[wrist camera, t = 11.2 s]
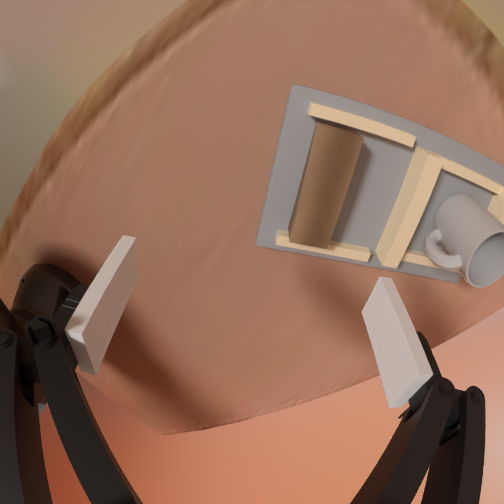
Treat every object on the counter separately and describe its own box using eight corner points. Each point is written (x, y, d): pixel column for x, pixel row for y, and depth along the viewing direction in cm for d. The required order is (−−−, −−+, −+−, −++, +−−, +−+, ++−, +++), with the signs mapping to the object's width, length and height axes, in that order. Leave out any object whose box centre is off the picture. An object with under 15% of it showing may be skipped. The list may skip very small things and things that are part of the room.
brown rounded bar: (287, 227, 34) (289, 242, 31) (316, 120, 27) (321, 126, 24) (322, 234, 34) (326, 249, 31) (355, 131, 27) (364, 138, 25)
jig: (255, 239, 36) (254, 260, 32) (291, 83, 26) (295, 85, 23) (454, 278, 38) (466, 296, 35) (507, 169, 28) (526, 181, 25)
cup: (476, 234, 32) (511, 275, 25) (414, 256, 35) (442, 304, 27) (476, 185, 29) (519, 221, 21) (408, 206, 31) (443, 250, 24)
